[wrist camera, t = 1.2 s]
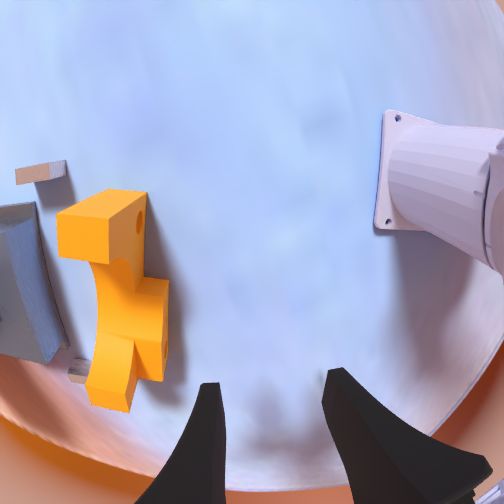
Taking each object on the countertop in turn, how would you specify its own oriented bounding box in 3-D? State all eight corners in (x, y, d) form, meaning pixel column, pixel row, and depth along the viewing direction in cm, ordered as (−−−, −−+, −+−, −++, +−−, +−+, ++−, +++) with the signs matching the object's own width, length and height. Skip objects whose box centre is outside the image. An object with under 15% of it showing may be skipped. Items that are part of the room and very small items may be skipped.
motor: (65, 159, 14) (25, 167, 10) (107, 370, 20) (93, 408, 16) (-24, 178, 13) (-60, 190, 9) (23, 355, 19) (4, 384, 15)
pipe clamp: (168, 352, 20) (156, 417, 14) (115, 344, 20) (91, 404, 14) (176, 194, 16) (150, 223, 10) (109, 188, 16) (56, 213, 10)
